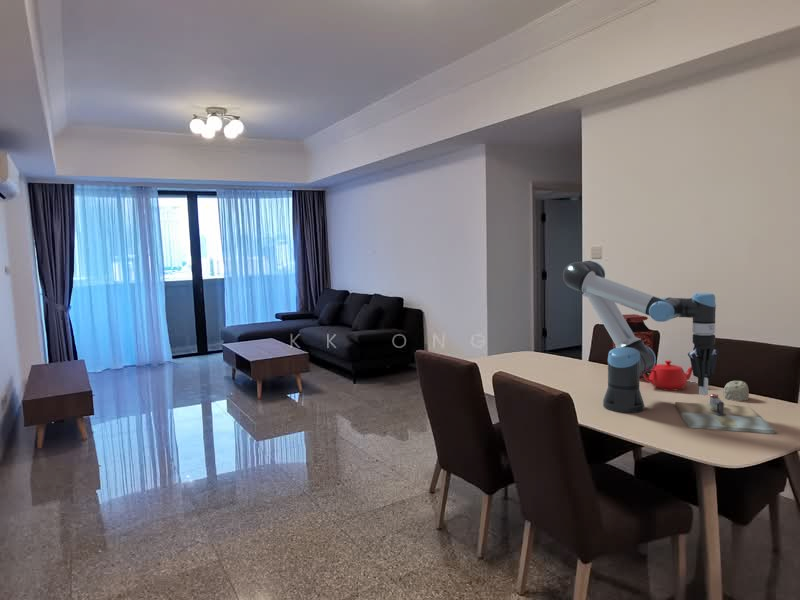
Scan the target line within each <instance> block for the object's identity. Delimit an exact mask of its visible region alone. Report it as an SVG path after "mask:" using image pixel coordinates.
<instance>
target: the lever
mask: <svg viewBox="0 0 800 600" xmlns="http://www.w3.org/2000/svg"><path fill="white" fill-rule="evenodd" d="M709 397H710V398H709V404H711V406H712V407H713V408H714V409H715V411H716V412H719V402H723V401H722V400H721V399H720V398H719V394H716V393H710V394H709ZM724 405H725V403H723V413H724Z"/></svg>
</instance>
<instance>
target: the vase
mask: <svg viewBox="0 0 800 600" xmlns="http://www.w3.org/2000/svg"><path fill="white" fill-rule="evenodd" d="M622 315H623V317H624V319H625V320H626V322H627V324H628V325H629V327H630V329H631V330H632V332H633V334H634V335H635V337H637V338H640V339H641V340H642V341H643V343H644V345H645V346H647V347H649V348H650V349H652V350H653V351H654V347H653V345H654V341H653V336H654V335H653V333H654V331H653V330H651V329H650V328H649V327H648V326H647V325H646V324H645V321H648V319H649V318H648V316H645V315H640V314H635V313H633V314H622ZM614 348H616V345H615V343H614V342H613V341H612V349H614ZM646 376H647V378H648V377H649V373H646ZM640 378H644V377H643V375H642V376H640Z"/></svg>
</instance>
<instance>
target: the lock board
mask: <svg viewBox="0 0 800 600" xmlns="http://www.w3.org/2000/svg"><path fill="white" fill-rule="evenodd" d="M723 403H724V402H723V401H722V402H719V412H716V411H715V409H714V408H713V407H712V406H711V404H710V403H701V402H700V403H698V402H697V403H696V402H682V401H681V402H680V401H675V407H676V409H677V410H678V411H679V413H680V416H681V417H682V418H683V420H684V422H685V424H686V426H687V427H688V428H692V429H693V428H694V429H707V430H720V431H734V432H744V433H745V432H748V433H759V434H760V433H762V434H776V429H775V428H774V427H773V426H771V424H769V423H768V422H767V421H766V420H765V419H764V418H763V417H762V416H761V415H760V414H759V413H758V412H757V411H756V410H755V409H754V408H753V407H751V406H749V405H748V406H747V405H746V406H745V405H733V404H732V405H729V404H725V403H724V413H723Z"/></svg>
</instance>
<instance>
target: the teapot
mask: <svg viewBox="0 0 800 600" xmlns="http://www.w3.org/2000/svg"><path fill="white" fill-rule="evenodd" d="M671 363H672V360H664V363H662V364H655V366H654V368H653V369H652V370H651V371H650V372H649V373H650V374H649V375H648V377H649V378H648V377H647V376H646V374H644V375H643V377H642V378H643V379H644V380H646V381H647V382H649V383H650V384H651V385H652V386H653V387H655V388H656V389H659V388H660V390H664V389H666V390H667V391H677V390H676V389H679V390H681V389H683V388H685V387H686V386H687V384H688V380H690V378H691V376H692V374H693V371H692V366H691V365H690V366H689V367H688V369H687V371H686V372H685V371H684V369H683V367H682V366H680V365H676V364H671ZM666 390H665V391H666Z"/></svg>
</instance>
